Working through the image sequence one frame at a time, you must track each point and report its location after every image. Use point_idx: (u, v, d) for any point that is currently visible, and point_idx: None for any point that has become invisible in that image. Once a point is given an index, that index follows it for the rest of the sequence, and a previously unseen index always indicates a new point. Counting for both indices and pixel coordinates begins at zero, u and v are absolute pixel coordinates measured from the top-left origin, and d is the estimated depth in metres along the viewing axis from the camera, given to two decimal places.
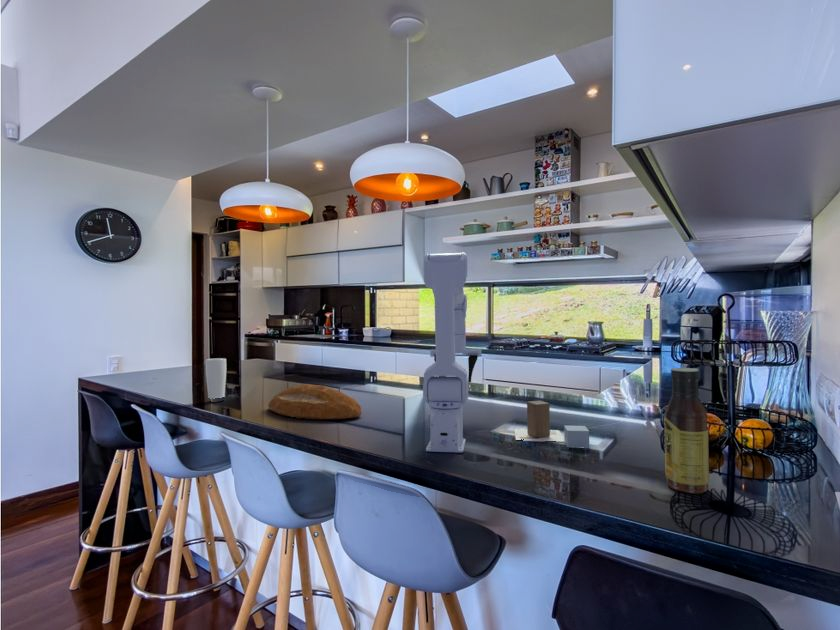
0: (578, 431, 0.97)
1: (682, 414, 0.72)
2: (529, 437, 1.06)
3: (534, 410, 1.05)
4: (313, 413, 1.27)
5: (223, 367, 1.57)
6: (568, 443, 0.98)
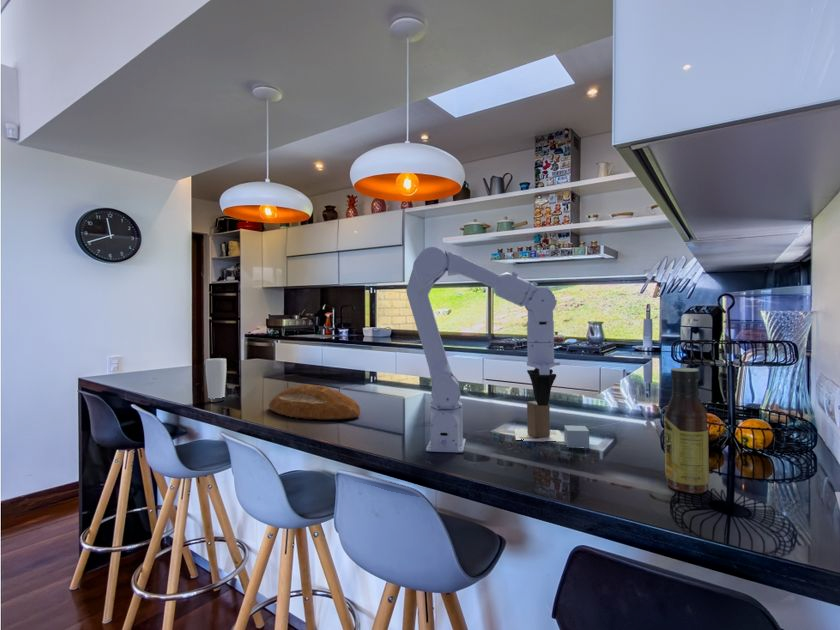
0: (578, 431, 0.97)
1: (682, 414, 0.72)
2: (529, 437, 1.06)
3: (534, 410, 1.05)
4: (311, 413, 1.26)
5: (223, 367, 1.57)
6: (568, 443, 0.98)
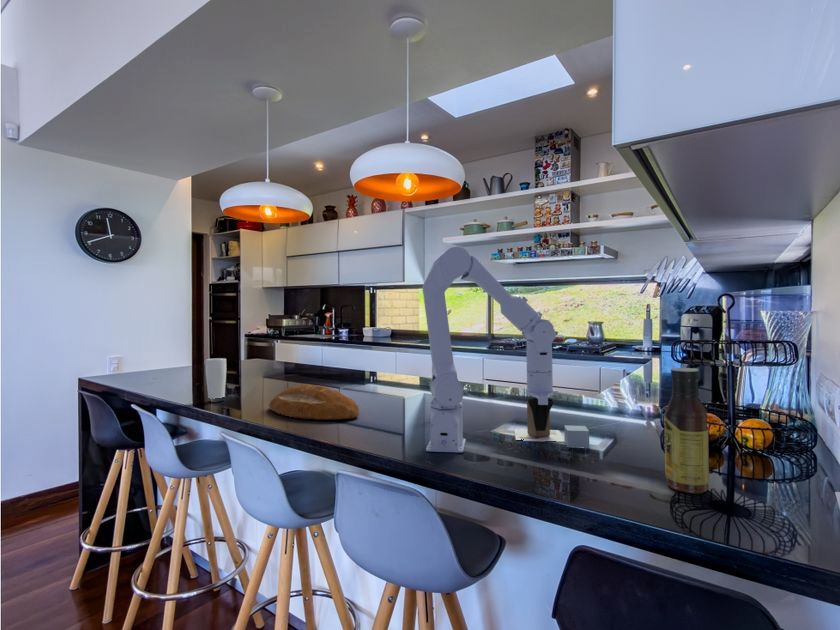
0: (578, 431, 0.97)
1: (682, 414, 0.72)
2: (529, 437, 1.06)
3: None
4: (310, 413, 1.26)
5: (223, 367, 1.57)
6: (568, 443, 0.98)
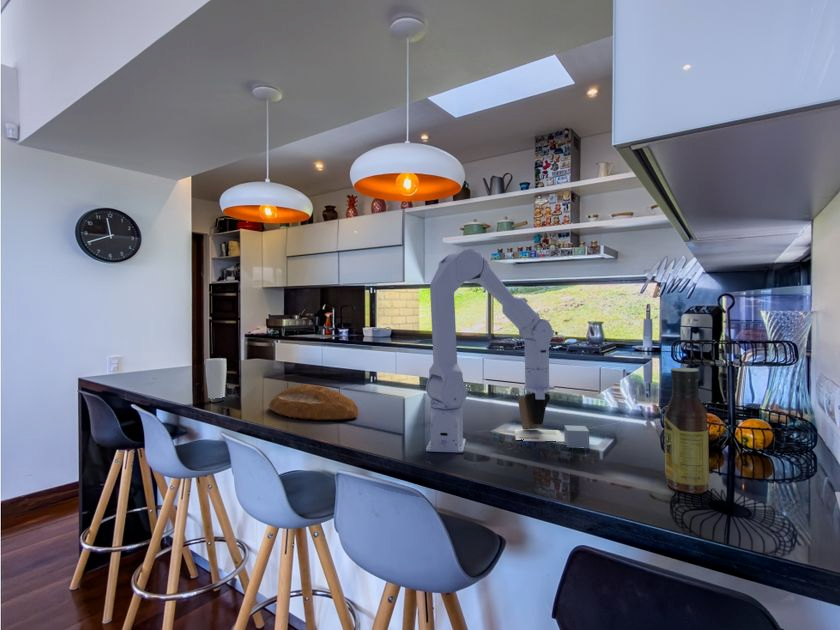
0: (578, 431, 0.97)
1: (682, 414, 0.72)
2: (529, 437, 1.06)
3: (524, 401, 1.12)
4: (309, 413, 1.26)
5: (223, 367, 1.57)
6: (568, 443, 0.98)
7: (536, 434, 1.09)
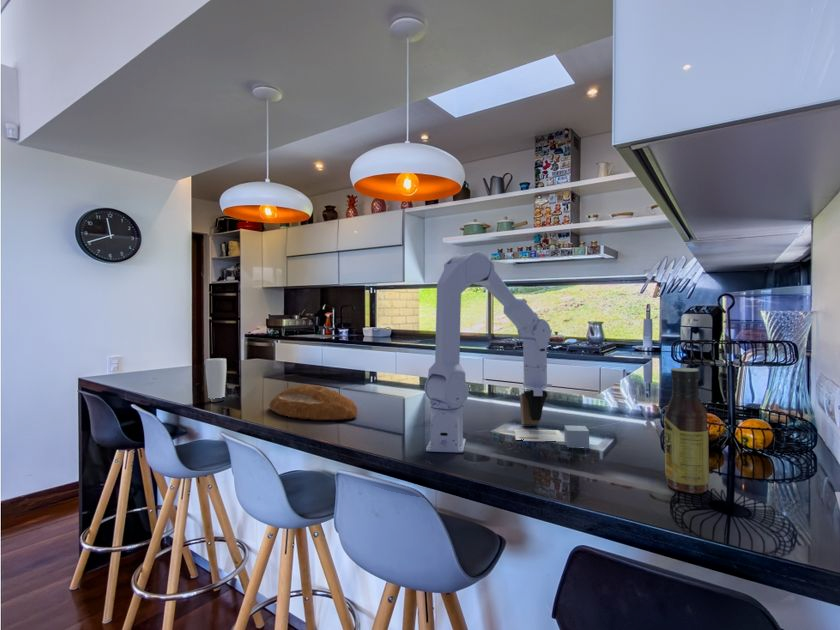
0: (578, 431, 0.97)
1: (682, 414, 0.72)
2: (529, 437, 1.06)
3: (522, 398, 1.16)
4: (308, 413, 1.26)
5: (223, 367, 1.57)
6: (568, 443, 0.98)
7: (536, 434, 1.09)
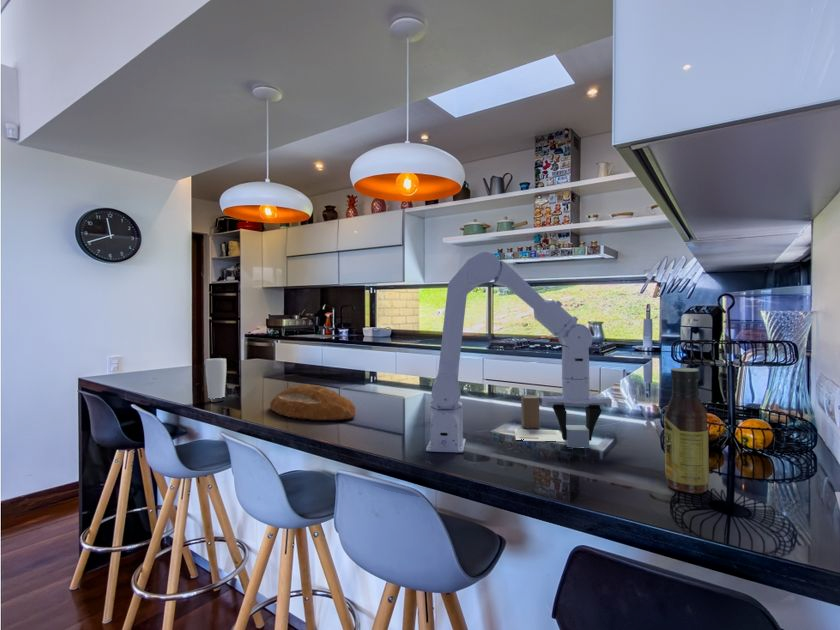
0: (578, 430, 0.97)
1: (682, 414, 0.72)
2: (529, 437, 1.06)
3: (523, 403, 1.14)
4: (305, 413, 1.26)
5: (223, 367, 1.57)
6: (568, 442, 0.98)
7: (536, 434, 1.09)
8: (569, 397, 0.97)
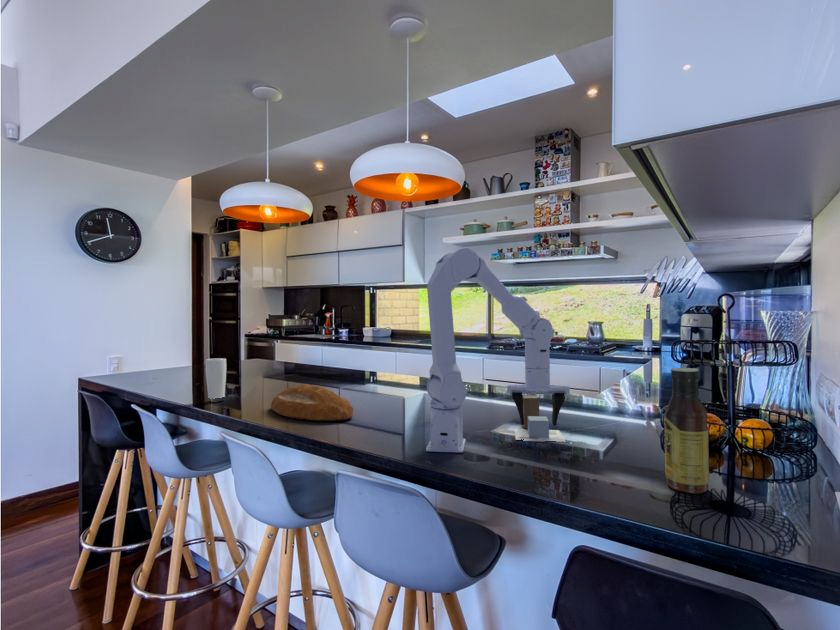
0: (539, 421, 1.06)
1: (682, 414, 0.72)
2: (529, 437, 1.06)
3: (523, 403, 1.14)
4: (303, 413, 1.26)
5: (223, 367, 1.57)
6: (530, 432, 1.06)
7: None
8: (531, 385, 1.06)
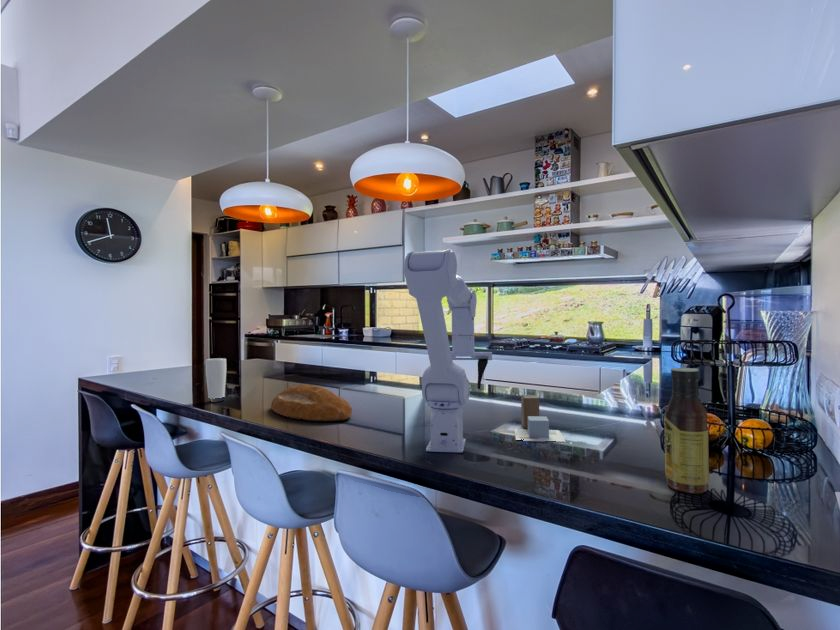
0: (539, 421, 1.06)
1: (682, 414, 0.72)
2: (529, 437, 1.06)
3: (523, 403, 1.14)
4: (301, 413, 1.26)
5: (223, 367, 1.57)
6: (530, 432, 1.06)
7: None
8: (455, 351, 1.13)
